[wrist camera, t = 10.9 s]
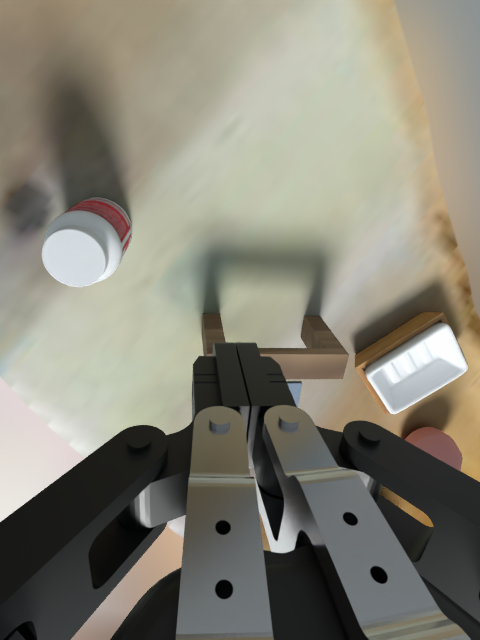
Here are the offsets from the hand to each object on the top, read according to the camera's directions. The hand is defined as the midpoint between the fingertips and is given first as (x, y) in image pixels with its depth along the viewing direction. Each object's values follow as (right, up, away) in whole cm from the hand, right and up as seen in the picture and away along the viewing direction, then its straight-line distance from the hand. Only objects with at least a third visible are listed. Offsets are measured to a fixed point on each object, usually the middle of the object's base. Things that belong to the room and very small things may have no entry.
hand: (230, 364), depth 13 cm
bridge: (+3, +1, +33) cm, 33 cm away
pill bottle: (-14, +11, +25) cm, 31 cm away
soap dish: (+22, -3, +38) cm, 44 cm away
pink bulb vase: (+28, -17, +45) cm, 56 cm away
